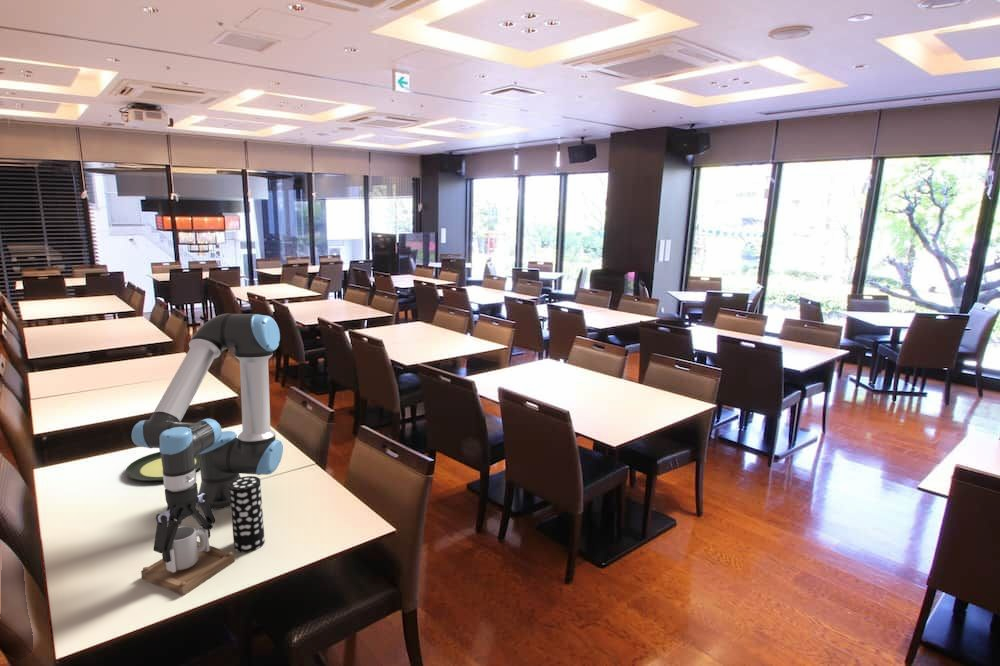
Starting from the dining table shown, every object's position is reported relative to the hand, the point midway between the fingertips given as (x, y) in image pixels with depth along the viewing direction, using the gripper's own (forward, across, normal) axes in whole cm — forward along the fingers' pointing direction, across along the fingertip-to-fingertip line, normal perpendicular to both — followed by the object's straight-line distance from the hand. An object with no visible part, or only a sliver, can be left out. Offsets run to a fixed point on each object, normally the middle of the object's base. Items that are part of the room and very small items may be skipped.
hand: (188, 560), depth 152 cm
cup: (0, 0, 0) cm, 0 cm away
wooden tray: (+3, 0, 0) cm, 3 cm away
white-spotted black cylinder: (+3, +16, -5) cm, 17 cm away
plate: (+4, +40, +63) cm, 75 cm away
